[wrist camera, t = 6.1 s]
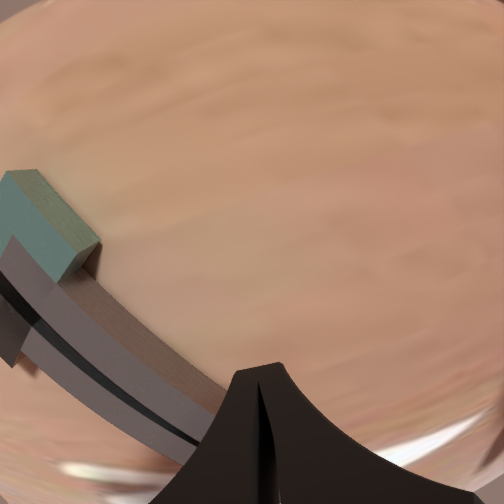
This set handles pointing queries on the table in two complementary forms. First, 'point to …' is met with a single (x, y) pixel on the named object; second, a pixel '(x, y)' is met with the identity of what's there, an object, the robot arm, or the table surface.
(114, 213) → the table surface
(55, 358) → the tong fixed arm
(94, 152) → the table surface
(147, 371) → the tong free arm
